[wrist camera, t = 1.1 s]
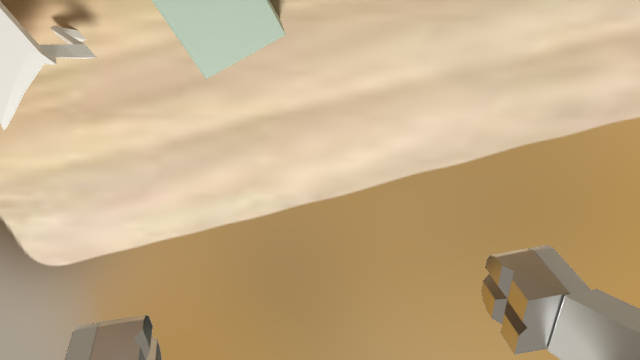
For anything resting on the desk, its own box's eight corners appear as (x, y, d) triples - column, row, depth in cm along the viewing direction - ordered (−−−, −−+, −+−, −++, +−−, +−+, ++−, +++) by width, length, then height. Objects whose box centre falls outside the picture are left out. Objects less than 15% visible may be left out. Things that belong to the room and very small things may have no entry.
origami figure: (120, 83, 36) (108, 113, 32) (5, 110, 36) (-22, 143, 32) (38, -104, 29) (10, -96, 25) (-105, -72, 29) (-157, -59, 25)
